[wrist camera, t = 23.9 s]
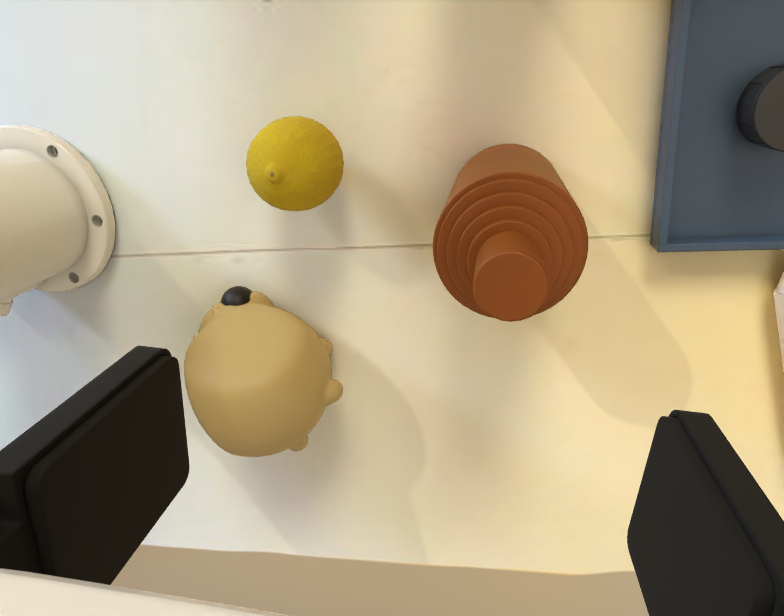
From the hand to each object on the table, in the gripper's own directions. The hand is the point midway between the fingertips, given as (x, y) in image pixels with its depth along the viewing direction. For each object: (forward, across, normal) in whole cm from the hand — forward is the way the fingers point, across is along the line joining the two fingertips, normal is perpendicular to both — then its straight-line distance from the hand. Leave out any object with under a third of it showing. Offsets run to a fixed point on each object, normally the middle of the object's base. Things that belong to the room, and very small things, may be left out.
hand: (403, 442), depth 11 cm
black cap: (+25, -18, -6) cm, 31 cm away
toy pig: (+29, +12, +13) cm, 34 cm away
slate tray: (+28, -18, -6) cm, 34 cm away
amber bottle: (+28, -3, 0) cm, 28 cm away
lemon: (+29, +10, -1) cm, 31 cm away
